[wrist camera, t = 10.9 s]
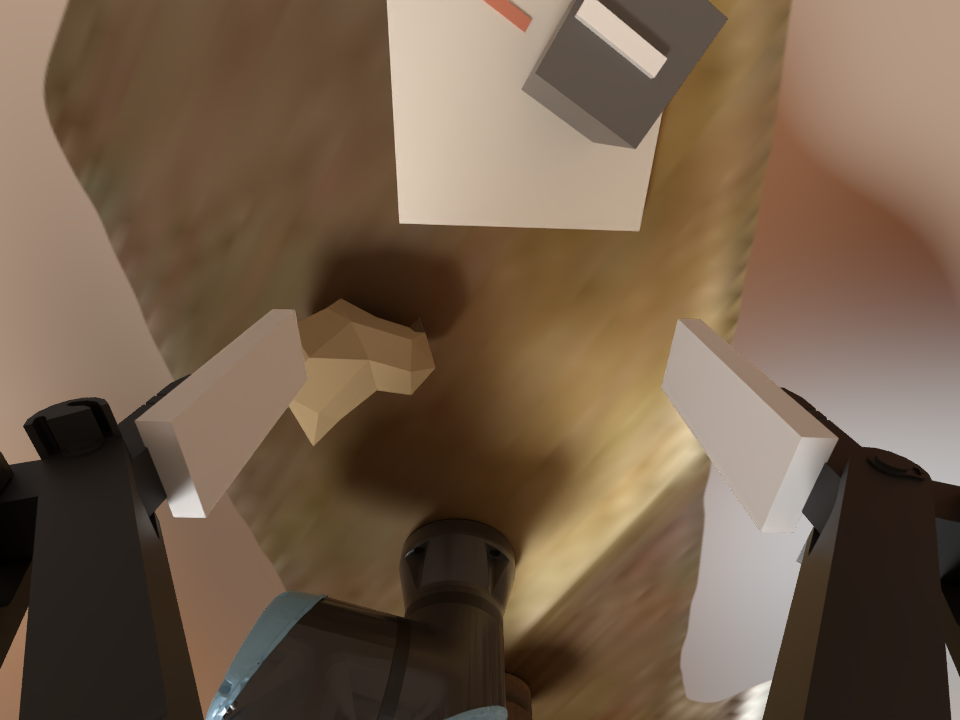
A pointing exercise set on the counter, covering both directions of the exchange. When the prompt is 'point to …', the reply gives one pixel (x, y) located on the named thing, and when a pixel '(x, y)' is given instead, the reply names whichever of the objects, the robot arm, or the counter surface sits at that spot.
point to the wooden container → (517, 698)
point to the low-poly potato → (355, 363)
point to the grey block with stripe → (620, 63)
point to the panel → (497, 125)
